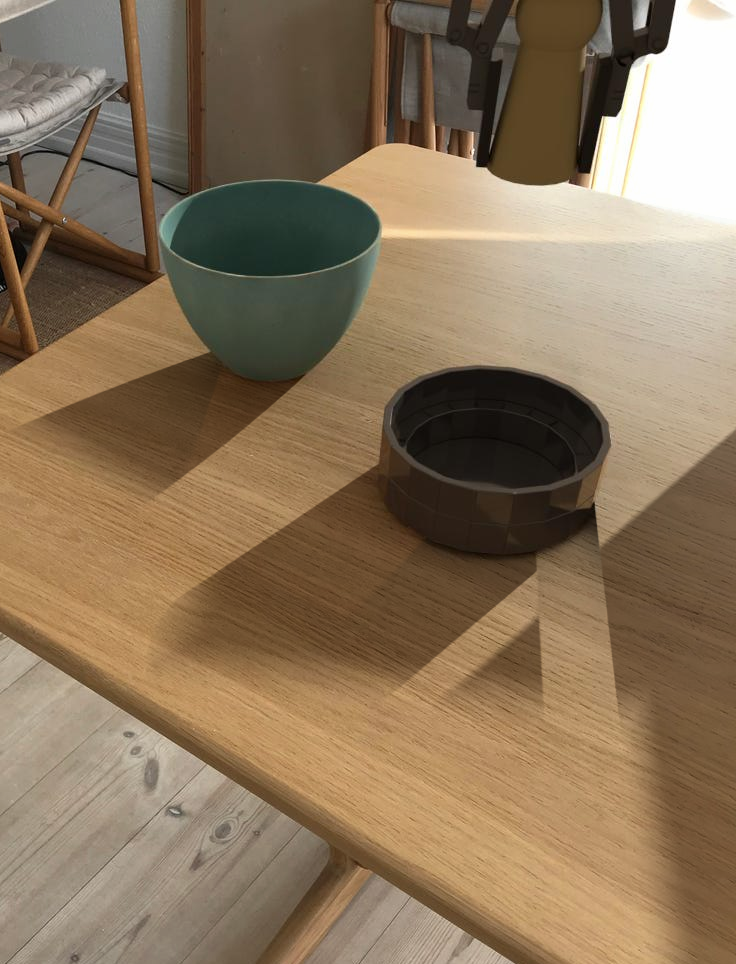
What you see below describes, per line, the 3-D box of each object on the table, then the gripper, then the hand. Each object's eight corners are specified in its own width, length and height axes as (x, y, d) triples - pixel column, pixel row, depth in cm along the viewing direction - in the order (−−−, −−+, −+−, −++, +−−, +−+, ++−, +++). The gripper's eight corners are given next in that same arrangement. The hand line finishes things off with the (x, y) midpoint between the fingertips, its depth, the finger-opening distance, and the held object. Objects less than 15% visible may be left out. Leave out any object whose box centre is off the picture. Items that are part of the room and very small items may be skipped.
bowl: (585, 438, 84) (602, 373, 80) (600, 570, 73) (620, 502, 69) (385, 423, 86) (390, 358, 82) (369, 549, 75) (375, 482, 71)
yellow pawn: (557, 192, 68) (595, 0, 60) (471, 173, 70) (497, -15, 62) (589, 161, 71) (629, -24, 63) (507, 144, 73) (536, -37, 66)
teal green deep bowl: (293, 439, 84) (295, 298, 76) (127, 369, 92) (111, 234, 84) (410, 346, 94) (423, 212, 86) (251, 290, 102) (249, 162, 94)
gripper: (424, -291, 52) (386, 176, 69) (821, -290, 50) (684, 194, 66) (432, -303, 58) (395, 134, 74) (792, -302, 55) (672, 149, 72)
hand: (532, 162), depth 70 cm, fingers closed on yellow pawn, 6 cm apart
